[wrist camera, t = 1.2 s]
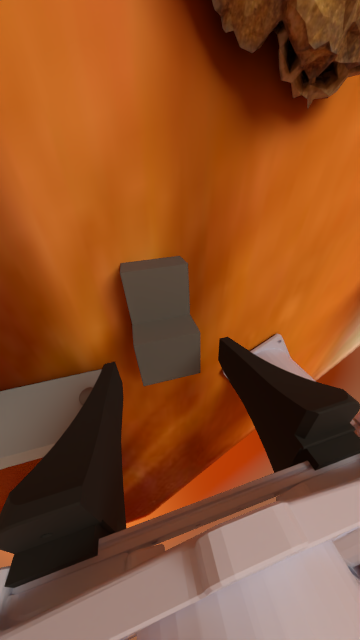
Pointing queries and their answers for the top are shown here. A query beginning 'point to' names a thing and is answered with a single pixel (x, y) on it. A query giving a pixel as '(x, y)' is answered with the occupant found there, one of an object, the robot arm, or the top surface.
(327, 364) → the top surface
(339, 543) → the robot arm
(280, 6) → the decorative rock
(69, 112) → the top surface
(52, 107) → the top surface
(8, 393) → the door
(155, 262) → the doorstop wedge
